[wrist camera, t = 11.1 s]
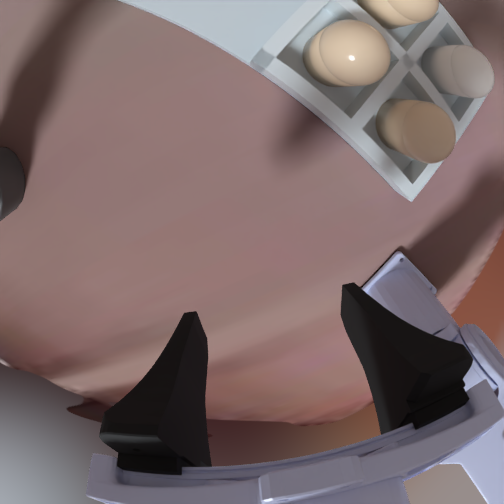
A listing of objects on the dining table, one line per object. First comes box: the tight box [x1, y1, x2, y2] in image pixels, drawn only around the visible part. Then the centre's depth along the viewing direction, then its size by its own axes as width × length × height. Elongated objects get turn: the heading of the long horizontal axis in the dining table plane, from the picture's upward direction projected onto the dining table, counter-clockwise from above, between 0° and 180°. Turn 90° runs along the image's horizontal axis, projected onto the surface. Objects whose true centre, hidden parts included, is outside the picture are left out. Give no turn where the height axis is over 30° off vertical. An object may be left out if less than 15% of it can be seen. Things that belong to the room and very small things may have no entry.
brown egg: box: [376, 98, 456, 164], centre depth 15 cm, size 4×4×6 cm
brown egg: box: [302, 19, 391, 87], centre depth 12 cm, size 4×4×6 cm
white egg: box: [421, 45, 495, 98], centre depth 12 cm, size 4×4×6 cm
